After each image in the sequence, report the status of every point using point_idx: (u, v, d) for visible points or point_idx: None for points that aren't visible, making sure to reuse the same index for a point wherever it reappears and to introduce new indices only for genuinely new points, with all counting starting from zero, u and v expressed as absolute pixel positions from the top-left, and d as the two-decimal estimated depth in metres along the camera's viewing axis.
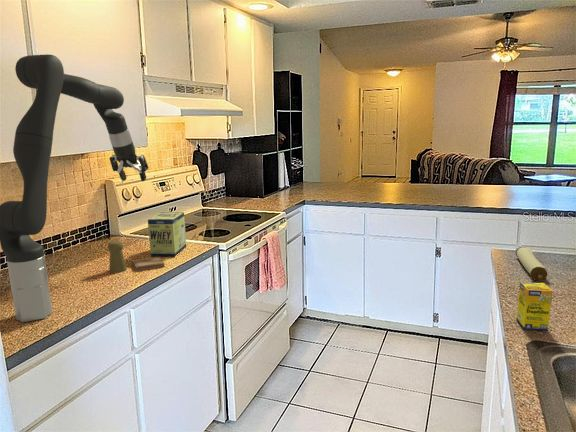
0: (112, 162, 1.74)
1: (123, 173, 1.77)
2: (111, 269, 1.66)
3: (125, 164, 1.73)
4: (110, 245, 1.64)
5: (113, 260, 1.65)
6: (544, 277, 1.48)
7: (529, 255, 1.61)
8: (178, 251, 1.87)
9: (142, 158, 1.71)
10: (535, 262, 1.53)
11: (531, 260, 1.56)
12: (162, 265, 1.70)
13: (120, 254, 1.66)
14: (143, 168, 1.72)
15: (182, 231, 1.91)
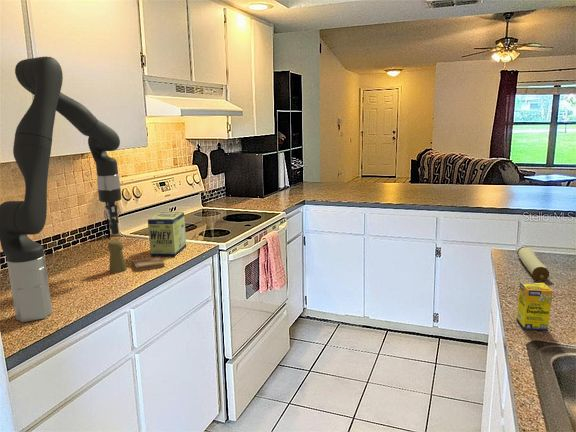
0: (106, 206, 1.68)
1: None
2: (111, 269, 1.66)
3: None
4: (110, 245, 1.64)
5: (113, 260, 1.65)
6: (546, 277, 1.48)
7: (531, 255, 1.61)
8: (178, 251, 1.87)
9: (112, 209, 1.57)
10: (537, 262, 1.53)
11: (533, 260, 1.56)
12: (162, 265, 1.70)
13: (120, 254, 1.66)
14: (110, 219, 1.58)
15: (182, 231, 1.91)
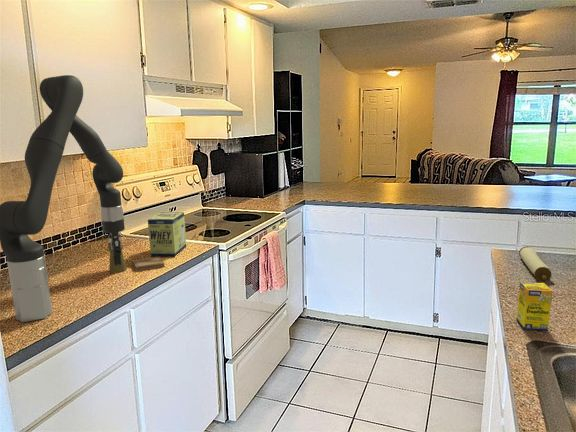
0: None
1: None
2: (111, 269, 1.66)
3: None
4: (110, 245, 1.64)
5: (113, 260, 1.65)
6: (548, 277, 1.48)
7: (533, 255, 1.61)
8: (178, 251, 1.87)
9: (115, 243, 1.60)
10: (539, 262, 1.53)
11: (535, 260, 1.55)
12: (162, 265, 1.70)
13: None
14: (113, 252, 1.62)
15: (182, 231, 1.91)
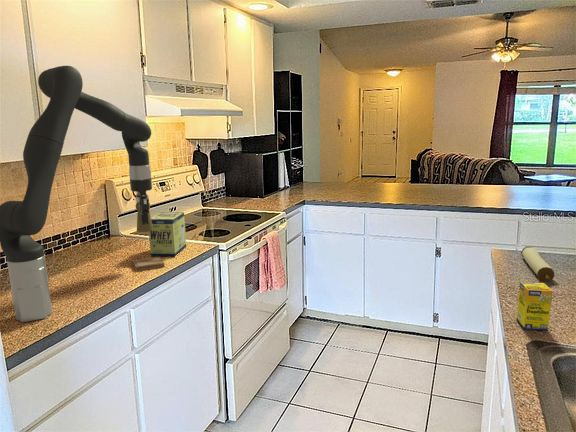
0: None
1: None
2: (138, 228, 1.67)
3: None
4: (138, 204, 1.66)
5: (140, 219, 1.67)
6: (551, 277, 1.48)
7: (535, 255, 1.60)
8: (178, 251, 1.87)
9: (144, 201, 1.61)
10: (542, 262, 1.53)
11: (538, 260, 1.55)
12: (162, 265, 1.70)
13: None
14: (141, 210, 1.63)
15: (182, 231, 1.91)
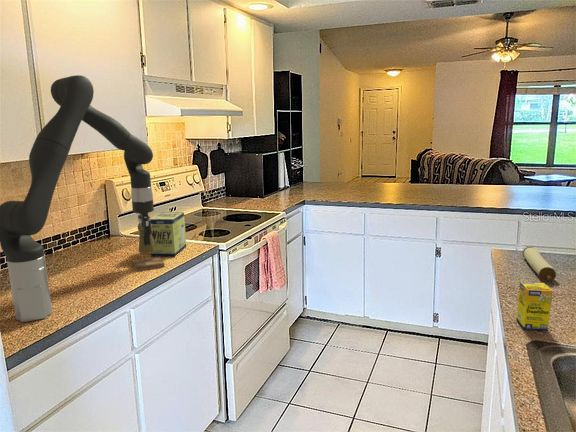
0: None
1: None
2: (141, 249, 1.69)
3: None
4: (140, 225, 1.67)
5: (142, 241, 1.68)
6: (553, 277, 1.48)
7: (537, 255, 1.60)
8: (178, 251, 1.87)
9: (146, 223, 1.63)
10: (543, 262, 1.53)
11: (539, 260, 1.55)
12: (162, 265, 1.70)
13: None
14: (143, 232, 1.65)
15: (182, 231, 1.91)
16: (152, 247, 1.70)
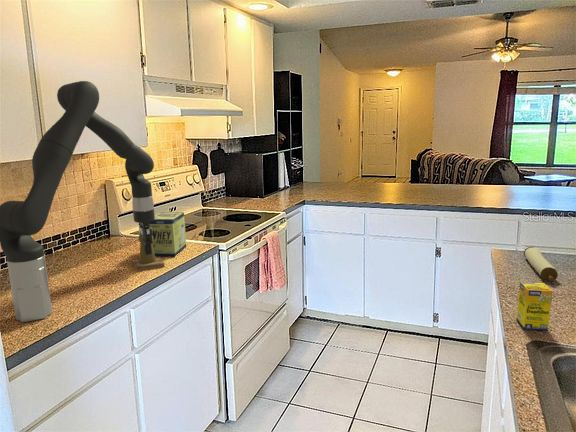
0: None
1: None
2: (142, 260, 1.70)
3: None
4: (141, 237, 1.68)
5: (143, 252, 1.69)
6: (554, 278, 1.48)
7: (538, 255, 1.60)
8: (178, 251, 1.87)
9: (147, 231, 1.64)
10: (545, 263, 1.53)
11: (540, 261, 1.55)
12: (162, 265, 1.70)
13: None
14: (145, 241, 1.65)
15: (182, 231, 1.91)
16: (153, 258, 1.71)
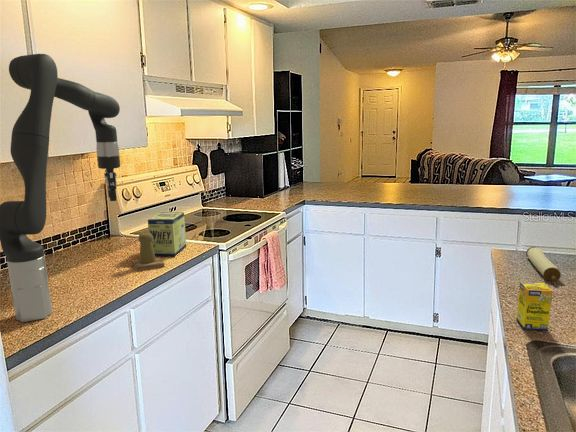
0: None
1: None
2: (142, 260, 1.70)
3: None
4: (141, 237, 1.68)
5: (143, 252, 1.69)
6: (557, 278, 1.47)
7: (541, 256, 1.60)
8: (178, 251, 1.87)
9: (110, 174, 1.58)
10: (548, 263, 1.52)
11: (543, 261, 1.55)
12: (162, 265, 1.70)
13: (150, 245, 1.70)
14: (108, 185, 1.59)
15: (182, 231, 1.91)
16: (153, 258, 1.71)
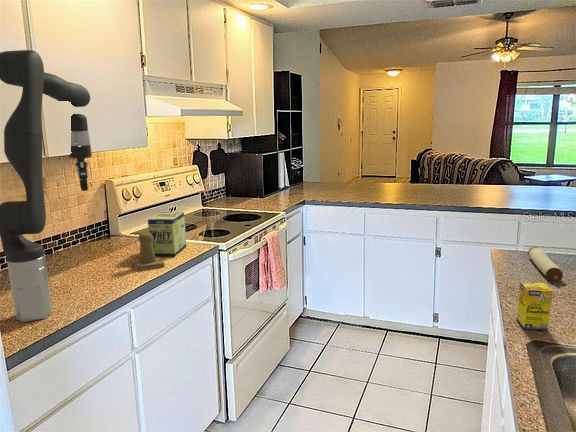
0: None
1: None
2: (142, 260, 1.70)
3: (78, 168, 1.64)
4: (141, 237, 1.68)
5: (143, 252, 1.69)
6: (560, 278, 1.47)
7: (543, 256, 1.60)
8: (178, 251, 1.87)
9: (80, 164, 1.57)
10: (550, 263, 1.52)
11: (545, 261, 1.55)
12: (162, 265, 1.70)
13: (150, 245, 1.70)
14: (79, 175, 1.58)
15: (182, 231, 1.91)
16: (153, 258, 1.71)
